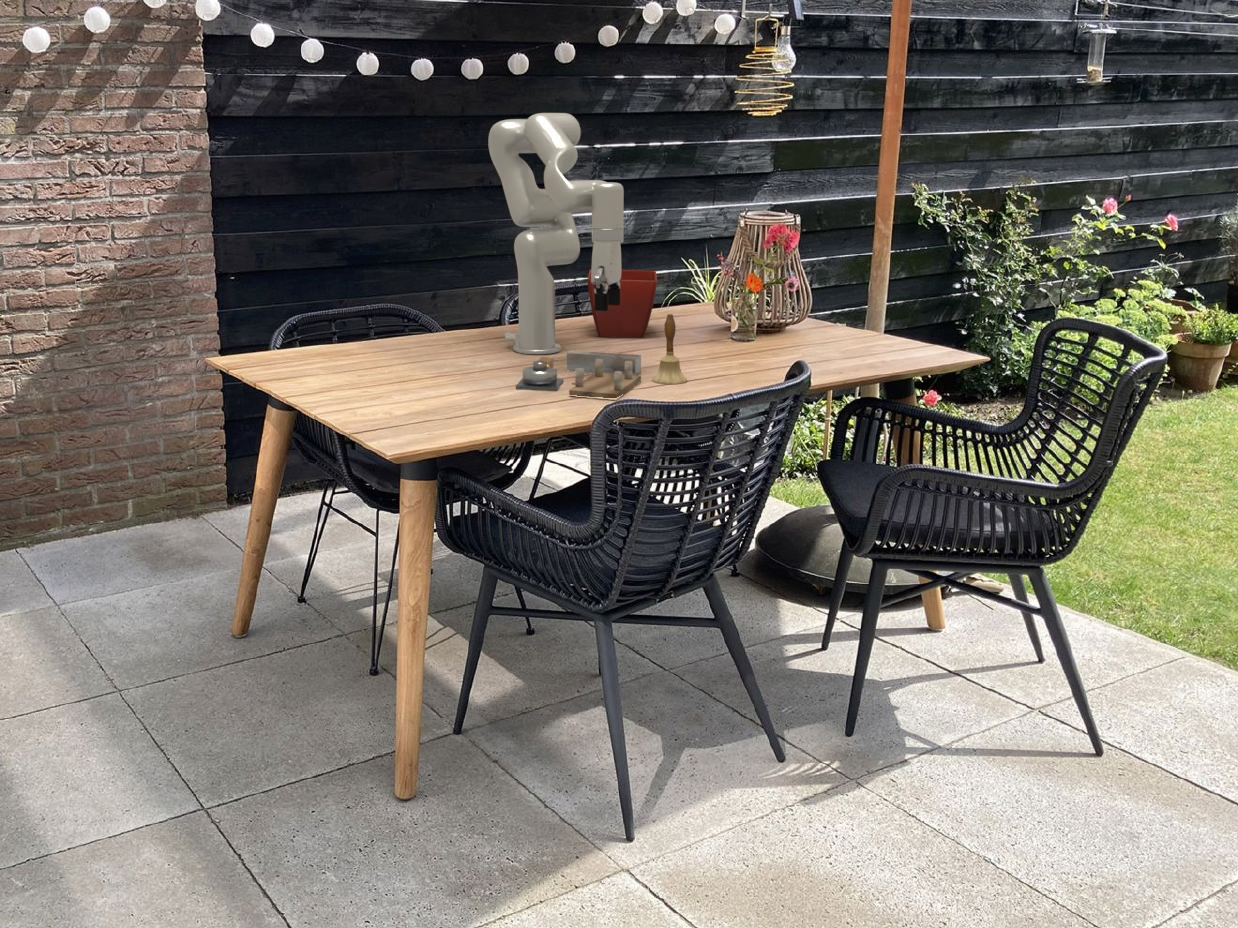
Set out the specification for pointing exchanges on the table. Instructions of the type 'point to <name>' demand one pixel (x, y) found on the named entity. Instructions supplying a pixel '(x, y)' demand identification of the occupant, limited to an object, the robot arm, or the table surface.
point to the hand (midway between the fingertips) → (607, 307)
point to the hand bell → (669, 359)
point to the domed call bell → (541, 372)
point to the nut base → (540, 385)
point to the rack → (605, 382)
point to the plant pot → (627, 305)
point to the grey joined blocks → (609, 361)
